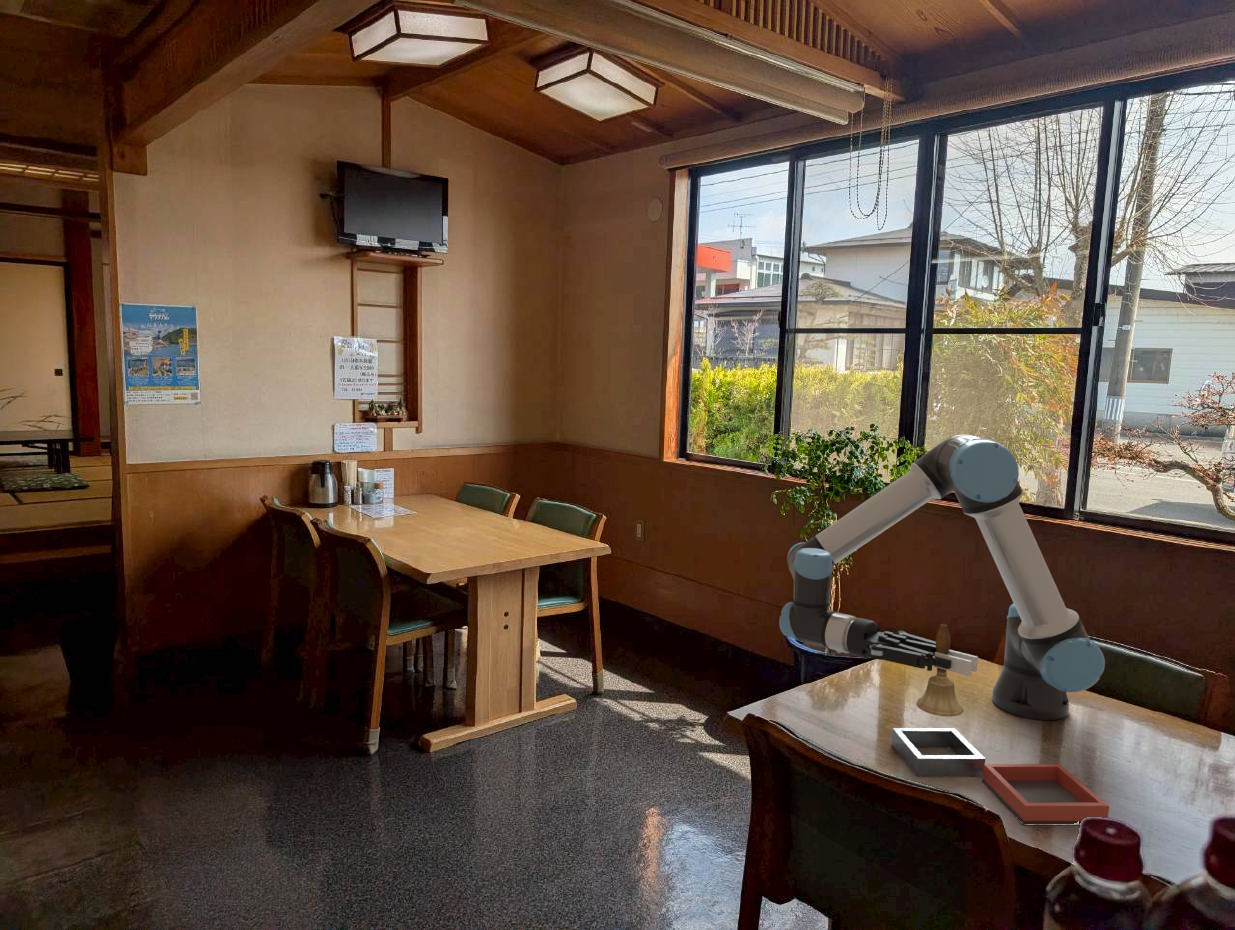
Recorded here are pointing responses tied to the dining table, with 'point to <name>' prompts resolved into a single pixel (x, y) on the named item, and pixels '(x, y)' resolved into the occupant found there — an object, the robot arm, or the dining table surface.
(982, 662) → the dining table surface
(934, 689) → the hand bell
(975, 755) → the grey square open box
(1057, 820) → the tray
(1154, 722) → the dining table surface
